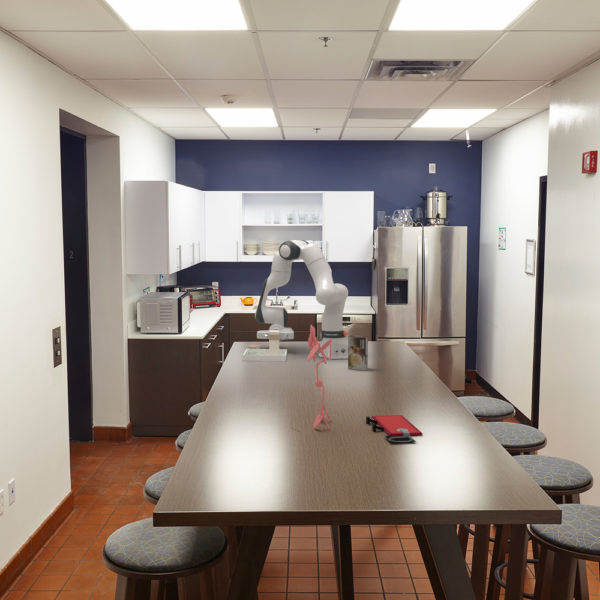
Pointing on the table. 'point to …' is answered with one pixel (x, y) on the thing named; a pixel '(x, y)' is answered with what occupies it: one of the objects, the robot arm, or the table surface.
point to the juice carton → (274, 342)
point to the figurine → (314, 347)
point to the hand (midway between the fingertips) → (274, 337)
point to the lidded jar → (253, 349)
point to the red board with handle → (394, 427)
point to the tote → (265, 356)
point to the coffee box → (358, 352)
